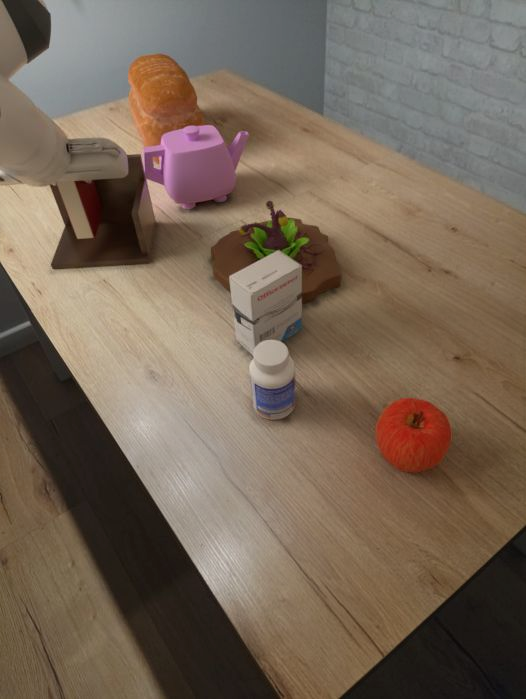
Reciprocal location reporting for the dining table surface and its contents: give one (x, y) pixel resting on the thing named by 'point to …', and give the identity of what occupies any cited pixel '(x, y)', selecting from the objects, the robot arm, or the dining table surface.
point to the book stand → (112, 224)
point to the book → (81, 207)
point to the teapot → (195, 164)
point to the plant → (289, 239)
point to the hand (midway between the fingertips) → (72, 179)
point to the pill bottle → (272, 380)
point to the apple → (413, 434)
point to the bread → (161, 98)
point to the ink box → (267, 300)
